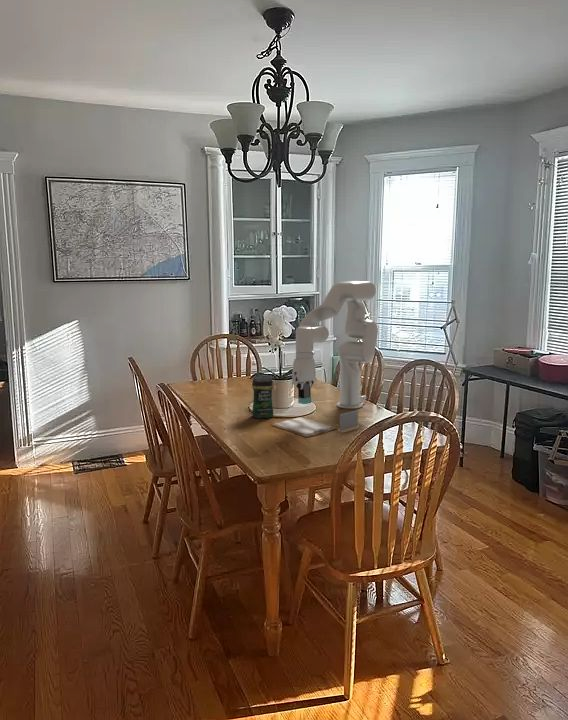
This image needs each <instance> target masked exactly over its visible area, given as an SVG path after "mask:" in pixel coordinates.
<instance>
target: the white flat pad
mask: <svg viewBox="0 0 568 720" xmlns="http://www.w3.org/2000/svg"><path fill="white" fill-rule="evenodd" d="M271 426H272V427H276V428H279V429H281V430H284V431H287V432H290V433H292V434H295V435H298V436H301V437H304V438H306V439H307V438H310V437H311V438H312V437H314V436H315V437H316V436H318V435H321V434H326V433H329V432H333V431H336V430H337V431H338V428H337V427H335V426H332V425H328V424H326V423H324V422H319V421H316V420H313V419H309V418H307V417H304V416H299V417H296V418H295V417H294V418H290V419H286V420H282V421H278V422H275V423H271Z"/></svg>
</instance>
